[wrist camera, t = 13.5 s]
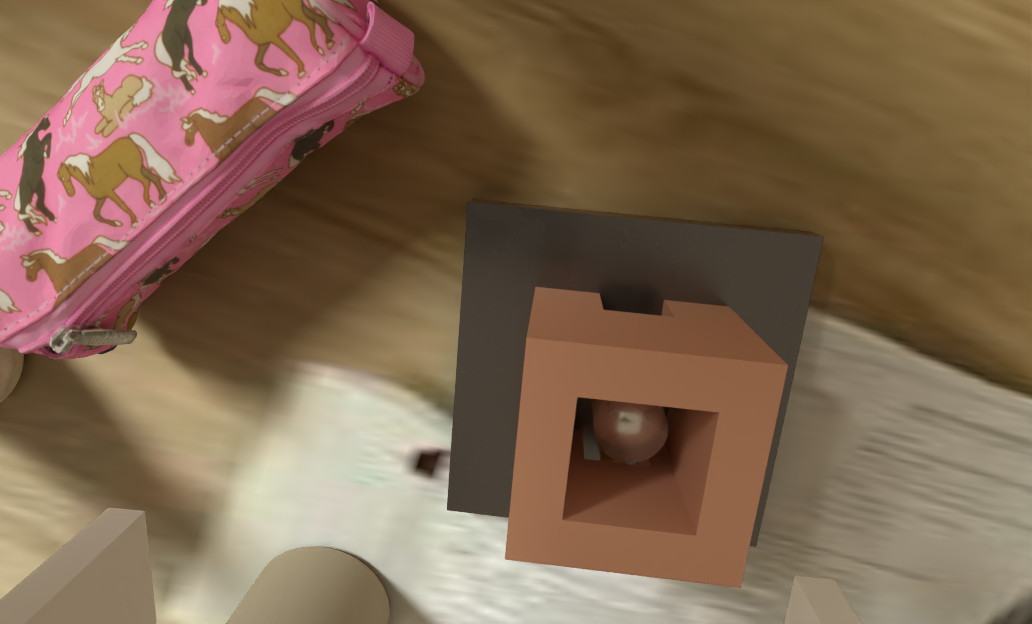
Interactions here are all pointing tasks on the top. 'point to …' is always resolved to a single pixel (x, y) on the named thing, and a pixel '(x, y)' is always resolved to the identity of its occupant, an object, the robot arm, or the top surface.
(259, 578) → the travel mug
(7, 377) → the stacking toy
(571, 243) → the post plate
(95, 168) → the pencil case
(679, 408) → the hollow square tube
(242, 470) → the top surface
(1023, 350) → the top surface
